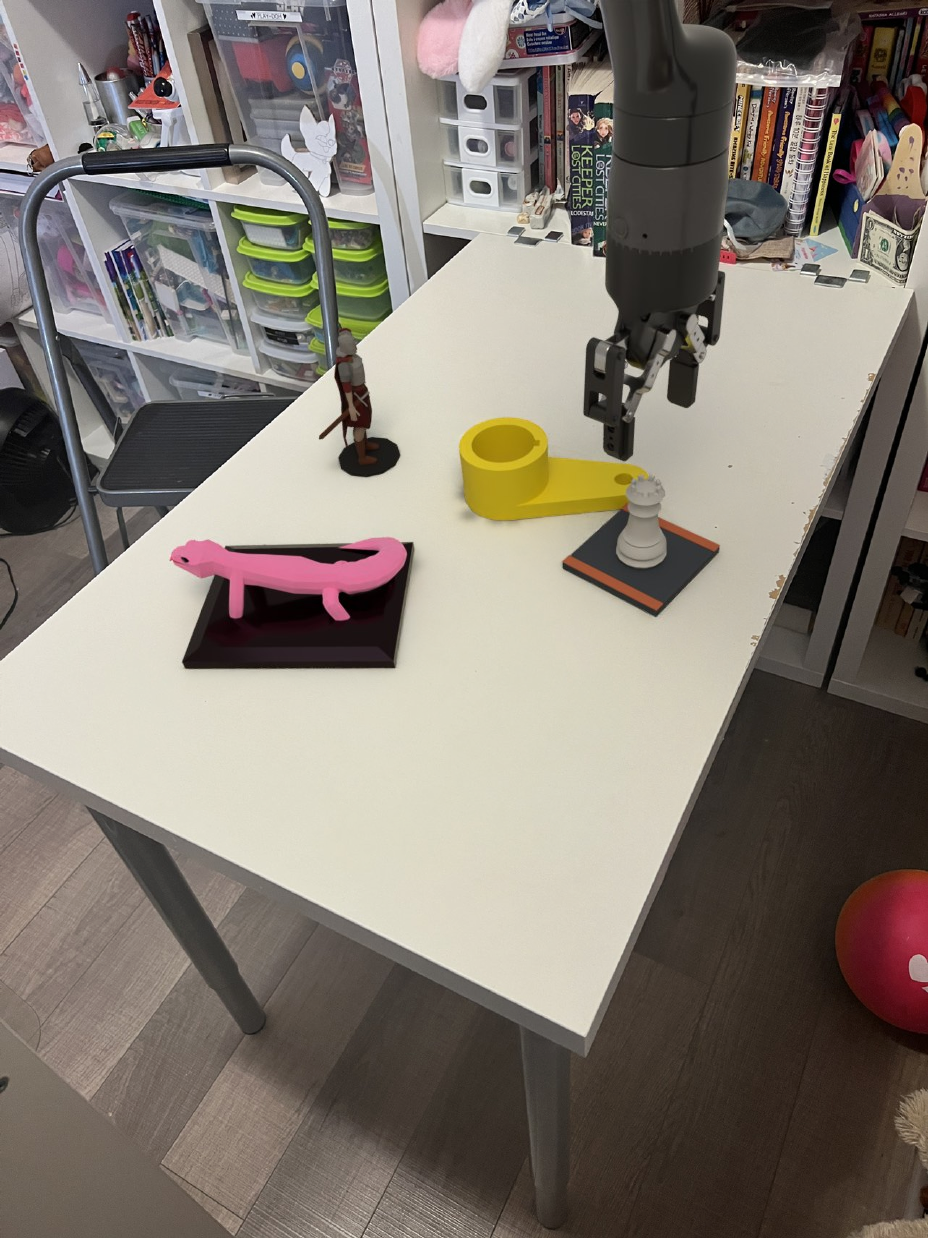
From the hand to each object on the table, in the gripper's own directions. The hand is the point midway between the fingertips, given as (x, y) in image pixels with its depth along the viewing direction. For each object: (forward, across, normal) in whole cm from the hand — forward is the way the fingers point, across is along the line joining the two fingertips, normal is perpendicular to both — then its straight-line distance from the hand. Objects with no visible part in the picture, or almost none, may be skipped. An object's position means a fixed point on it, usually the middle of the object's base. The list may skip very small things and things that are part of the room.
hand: (650, 428), depth 69 cm
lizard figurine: (+14, -23, +21) cm, 34 cm away
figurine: (+14, -4, +32) cm, 35 cm away
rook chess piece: (+14, 0, 0) cm, 14 cm away
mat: (+14, 0, 0) cm, 14 cm away
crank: (+14, +3, +12) cm, 19 cm away
